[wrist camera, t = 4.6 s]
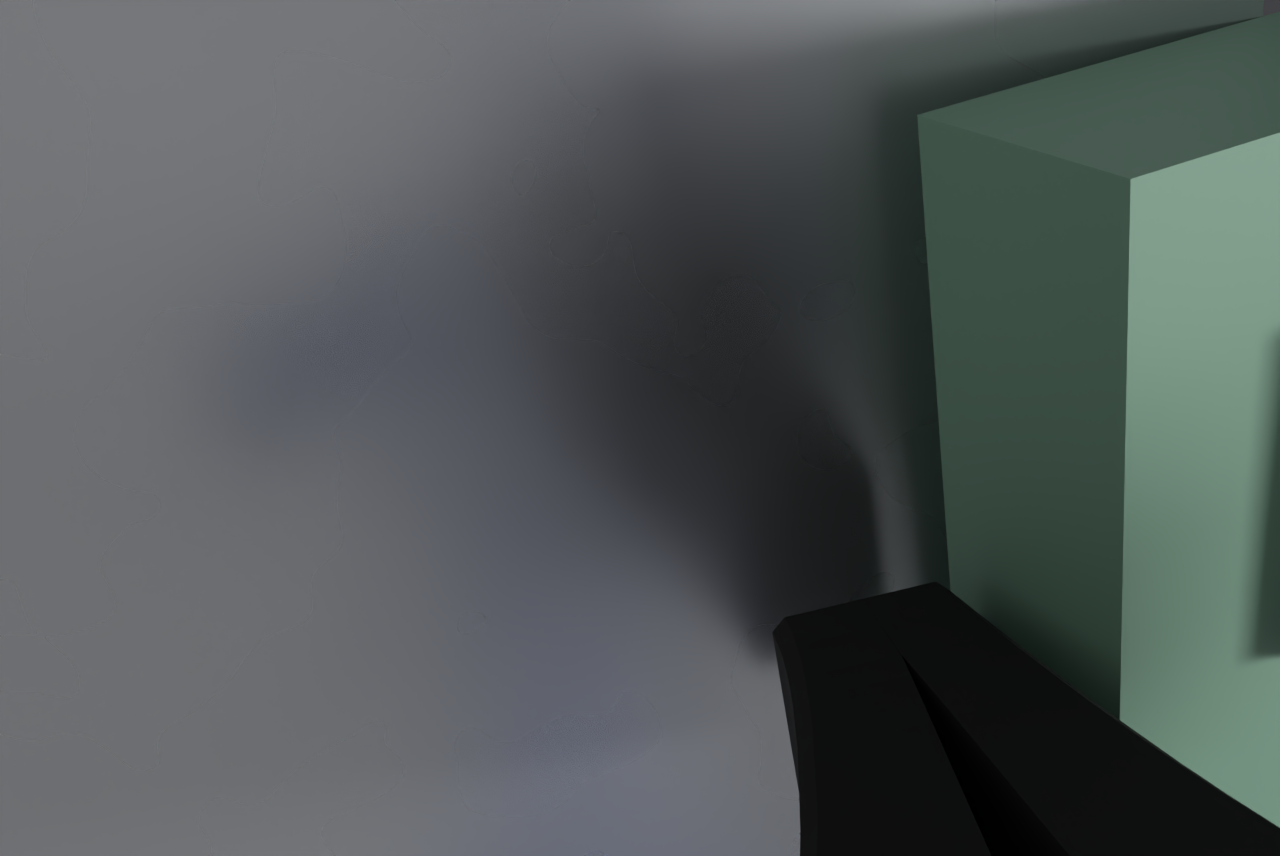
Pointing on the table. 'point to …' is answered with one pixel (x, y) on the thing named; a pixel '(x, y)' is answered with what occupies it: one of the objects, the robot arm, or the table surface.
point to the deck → (463, 404)
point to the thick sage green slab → (1122, 385)
